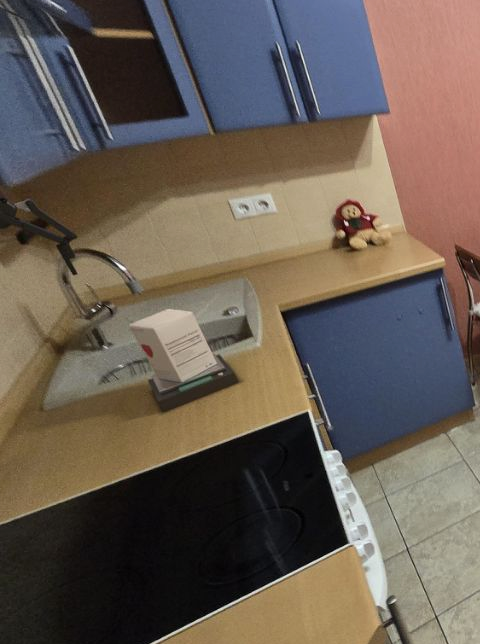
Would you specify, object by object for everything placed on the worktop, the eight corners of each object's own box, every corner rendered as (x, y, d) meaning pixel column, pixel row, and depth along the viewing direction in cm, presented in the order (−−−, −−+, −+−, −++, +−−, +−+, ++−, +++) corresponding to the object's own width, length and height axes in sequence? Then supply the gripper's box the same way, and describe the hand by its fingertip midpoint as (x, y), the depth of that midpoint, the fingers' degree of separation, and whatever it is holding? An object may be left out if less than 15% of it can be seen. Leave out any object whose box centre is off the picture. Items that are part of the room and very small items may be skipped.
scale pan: (152, 378, 131) (151, 375, 131) (215, 355, 140) (213, 353, 139) (160, 394, 124) (159, 391, 124) (226, 369, 132) (224, 367, 132)
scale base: (153, 390, 132) (146, 378, 131) (224, 363, 142) (218, 352, 141) (163, 412, 123) (157, 400, 121) (239, 382, 133) (233, 370, 131)
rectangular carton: (156, 379, 129) (126, 324, 123) (194, 360, 137) (167, 307, 130) (181, 383, 126) (151, 328, 120) (218, 363, 134) (192, 310, 127)
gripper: (-143, 200, 91) (-63, 311, 100) (58, 170, 107) (111, 268, 116) (-135, 195, 96) (-59, 302, 105) (56, 168, 112) (107, 262, 121)
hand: (30, 284), depth 111 cm, fingers open, 13 cm apart
